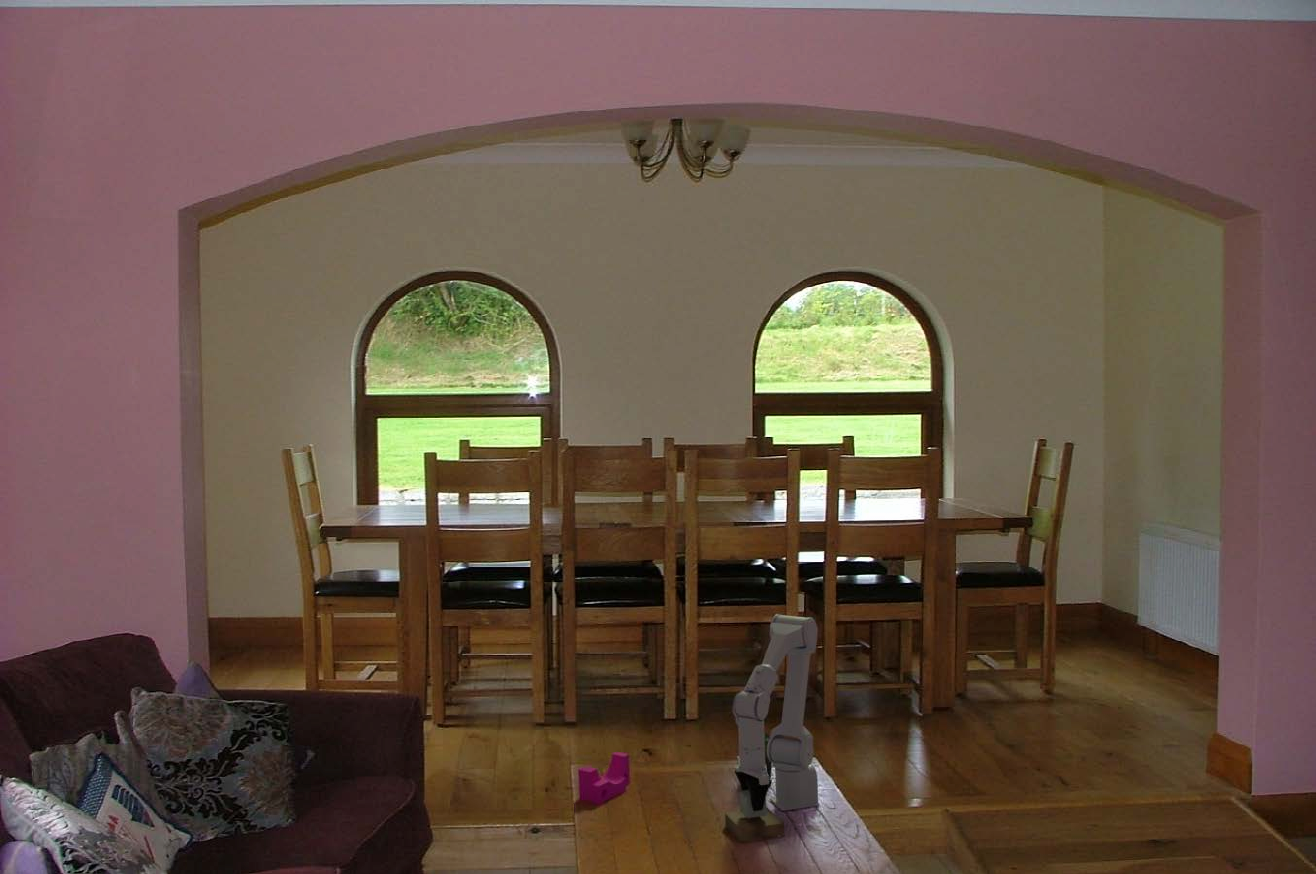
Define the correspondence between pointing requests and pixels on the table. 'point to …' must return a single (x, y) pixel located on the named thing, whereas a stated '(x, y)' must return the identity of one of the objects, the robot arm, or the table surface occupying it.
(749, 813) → the gray cube
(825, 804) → the table surface
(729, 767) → the table surface
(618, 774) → the toy block
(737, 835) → the base block
